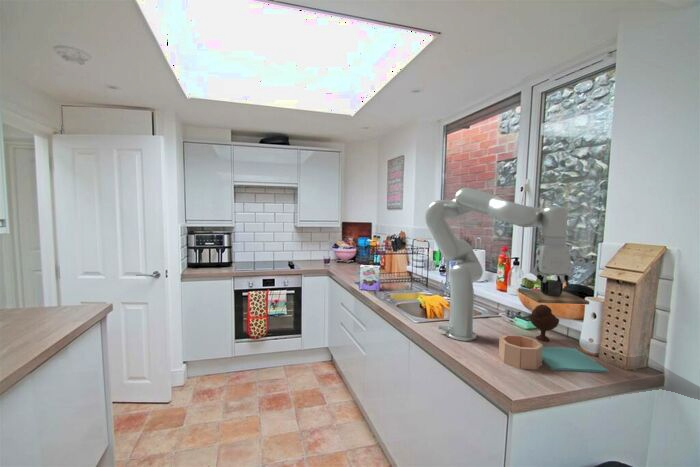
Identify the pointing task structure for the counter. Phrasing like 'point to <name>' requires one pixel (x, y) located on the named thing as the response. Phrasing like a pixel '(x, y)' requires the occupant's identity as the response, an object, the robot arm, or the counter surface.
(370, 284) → the candy box
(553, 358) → the teal mat
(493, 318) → the counter surface
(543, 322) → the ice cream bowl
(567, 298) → the walnut lid
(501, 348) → the terracotta bowl
